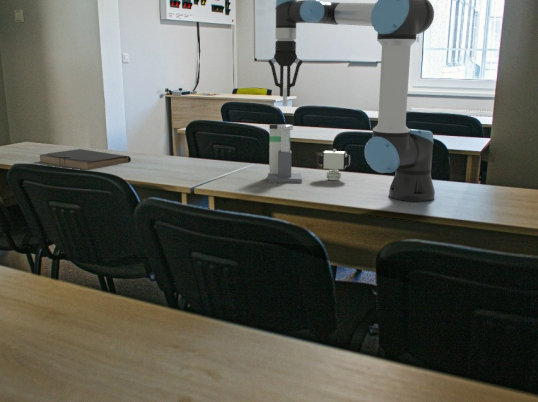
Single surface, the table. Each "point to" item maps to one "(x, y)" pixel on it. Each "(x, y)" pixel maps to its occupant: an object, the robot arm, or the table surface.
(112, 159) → the brown book
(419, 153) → the robot arm
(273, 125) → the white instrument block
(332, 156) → the pneumatic valve
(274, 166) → the stand
